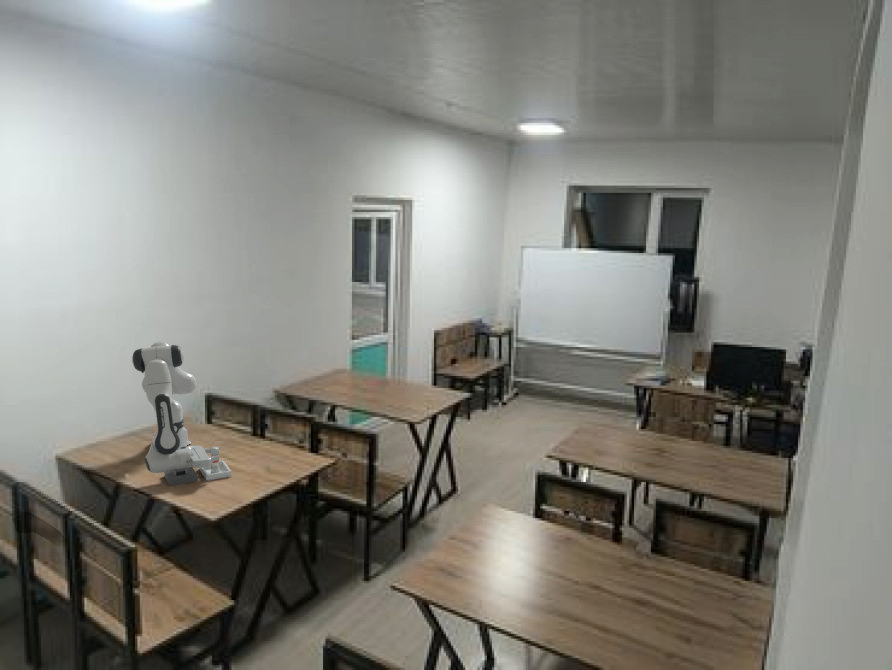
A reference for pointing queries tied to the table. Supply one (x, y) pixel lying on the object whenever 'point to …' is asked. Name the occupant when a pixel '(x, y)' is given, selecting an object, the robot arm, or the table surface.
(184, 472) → the fuse holder
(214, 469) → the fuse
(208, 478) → the tray
